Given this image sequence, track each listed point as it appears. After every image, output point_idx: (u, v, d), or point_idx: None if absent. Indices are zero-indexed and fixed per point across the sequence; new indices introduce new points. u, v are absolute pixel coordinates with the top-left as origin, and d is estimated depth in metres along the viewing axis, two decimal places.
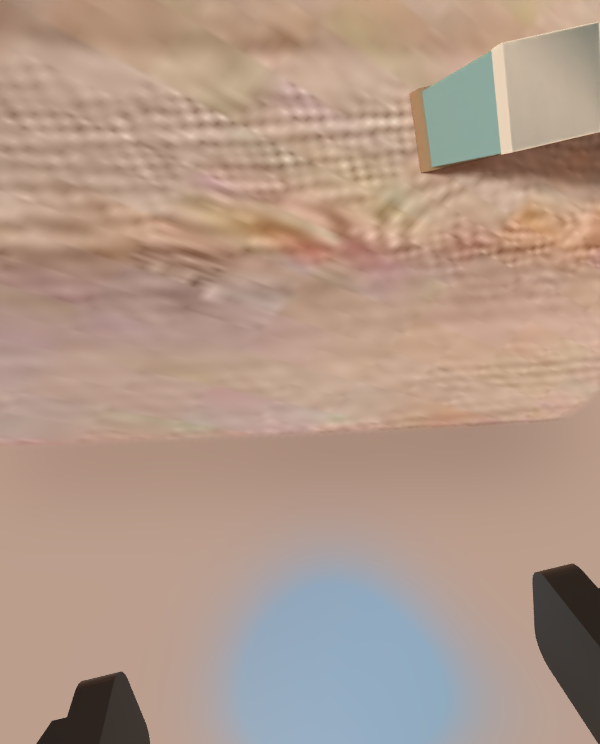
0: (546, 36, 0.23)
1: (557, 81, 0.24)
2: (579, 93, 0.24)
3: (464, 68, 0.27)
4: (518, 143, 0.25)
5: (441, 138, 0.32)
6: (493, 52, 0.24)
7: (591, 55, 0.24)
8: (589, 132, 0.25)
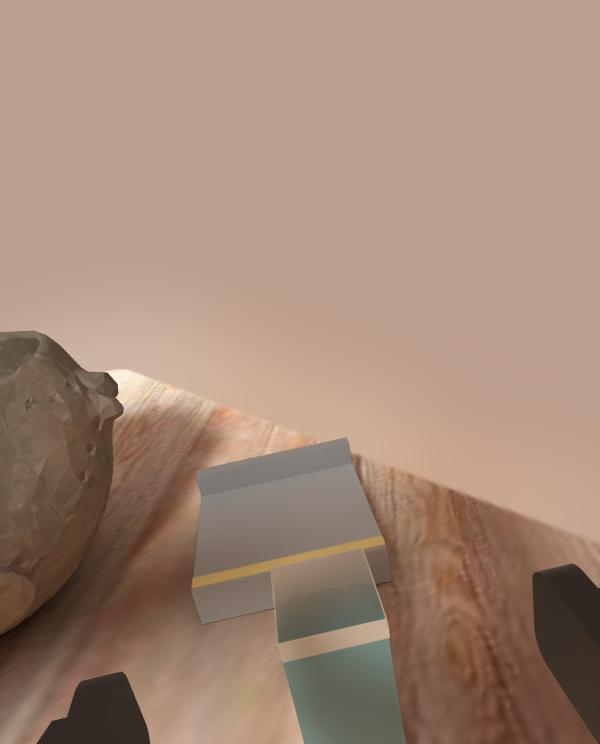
0: (276, 606, 0.23)
1: (317, 590, 0.24)
2: (329, 571, 0.25)
3: (298, 712, 0.23)
4: (377, 614, 0.22)
5: None
6: (285, 659, 0.22)
7: (297, 568, 0.25)
8: (364, 557, 0.25)
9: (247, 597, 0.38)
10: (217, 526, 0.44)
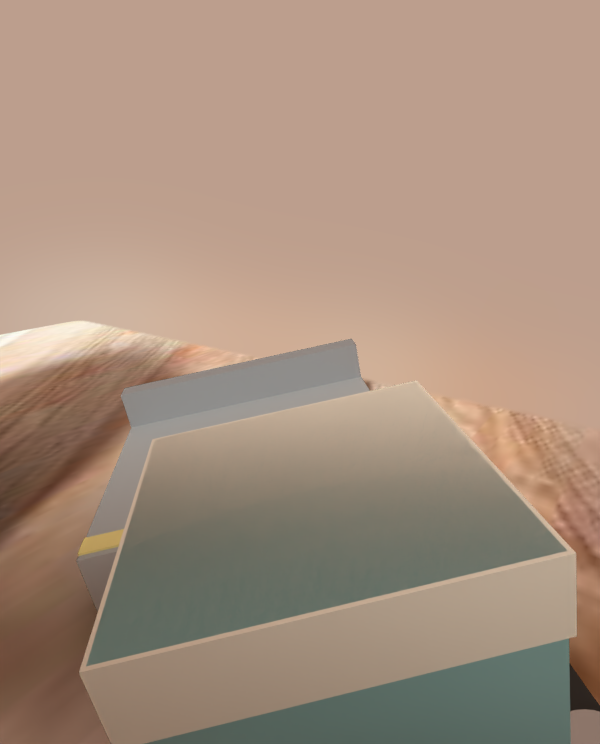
0: (134, 527, 0.07)
1: (281, 478, 0.07)
2: (321, 432, 0.08)
3: None
4: (522, 537, 0.05)
5: None
6: (130, 732, 0.05)
7: (227, 433, 0.09)
8: (426, 396, 0.08)
9: None
10: None
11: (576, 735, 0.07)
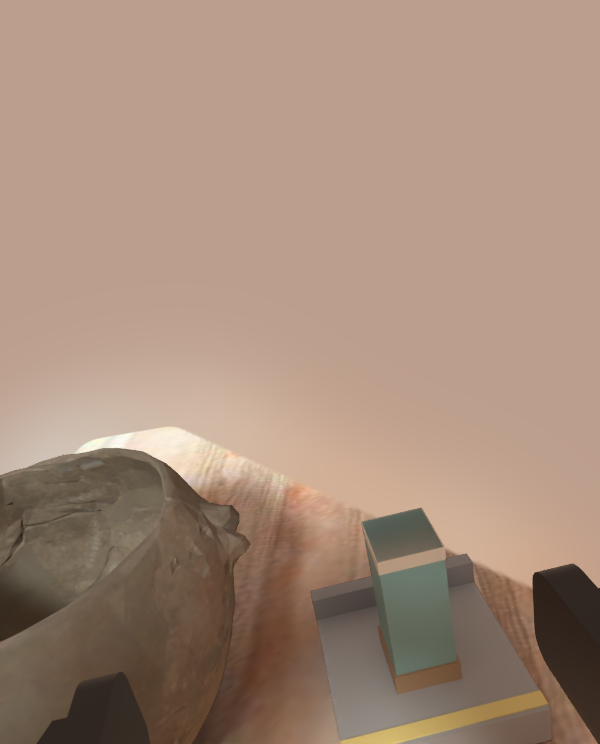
0: (371, 542, 0.36)
1: (396, 533, 0.37)
2: (401, 522, 0.38)
3: (386, 609, 0.36)
4: (437, 544, 0.35)
5: (433, 643, 0.37)
6: (381, 573, 0.35)
7: (379, 521, 0.38)
8: (423, 513, 0.38)
9: None
10: (347, 665, 0.41)
11: None
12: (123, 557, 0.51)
